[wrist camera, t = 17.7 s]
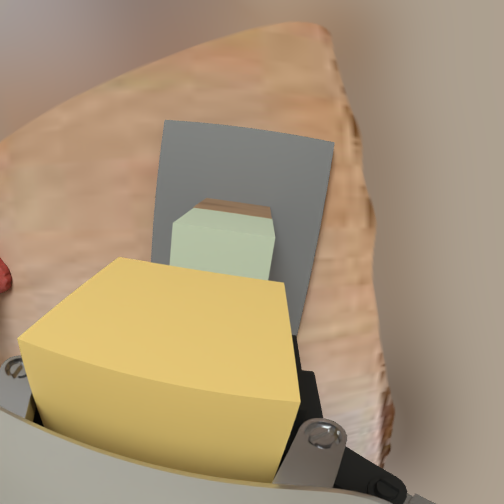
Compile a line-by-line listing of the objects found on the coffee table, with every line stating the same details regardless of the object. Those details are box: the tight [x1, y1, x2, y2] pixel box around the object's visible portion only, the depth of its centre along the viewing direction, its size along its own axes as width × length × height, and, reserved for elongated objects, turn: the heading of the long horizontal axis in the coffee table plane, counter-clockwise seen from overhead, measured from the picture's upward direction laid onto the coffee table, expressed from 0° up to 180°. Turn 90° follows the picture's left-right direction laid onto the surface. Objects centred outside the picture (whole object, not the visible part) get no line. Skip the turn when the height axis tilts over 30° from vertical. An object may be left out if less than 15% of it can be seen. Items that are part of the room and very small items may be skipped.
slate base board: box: [151, 120, 334, 336], centre depth 32 cm, size 20×16×2 cm
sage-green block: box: [170, 208, 275, 280], centre depth 22 cm, size 6×6×6 cm
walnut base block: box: [193, 198, 272, 219], centre depth 28 cm, size 6×6×6 cm
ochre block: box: [17, 257, 301, 483], centre depth 9 cm, size 6×6×6 cm
